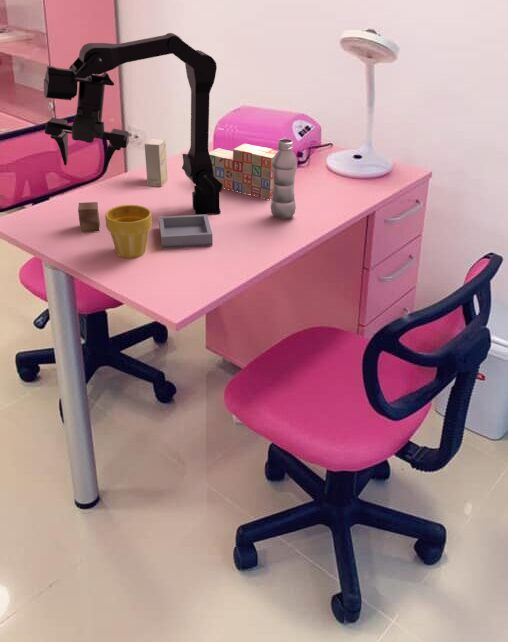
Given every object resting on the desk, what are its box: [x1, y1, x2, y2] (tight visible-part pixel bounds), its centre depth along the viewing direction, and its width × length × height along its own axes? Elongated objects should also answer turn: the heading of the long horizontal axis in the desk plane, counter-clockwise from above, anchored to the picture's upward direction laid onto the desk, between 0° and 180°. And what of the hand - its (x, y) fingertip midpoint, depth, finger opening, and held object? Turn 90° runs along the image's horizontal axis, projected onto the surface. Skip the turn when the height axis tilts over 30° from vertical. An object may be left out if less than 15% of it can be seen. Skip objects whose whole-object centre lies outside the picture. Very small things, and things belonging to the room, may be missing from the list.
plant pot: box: [104, 204, 153, 259], centre depth 166 cm, size 10×10×10 cm
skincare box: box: [144, 137, 169, 187], centre depth 205 cm, size 6×4×12 cm
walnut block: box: [77, 201, 101, 233], centre depth 178 cm, size 4×4×6 cm
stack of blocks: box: [209, 143, 278, 201], centre depth 201 cm, size 21×6×12 cm, turn 58°
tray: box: [158, 214, 214, 249], centre depth 176 cm, size 12×12×3 cm
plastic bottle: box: [270, 138, 298, 220], centre depth 183 cm, size 6×7×20 cm
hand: (85, 168), depth 173 cm, fingers open, 9 cm apart
